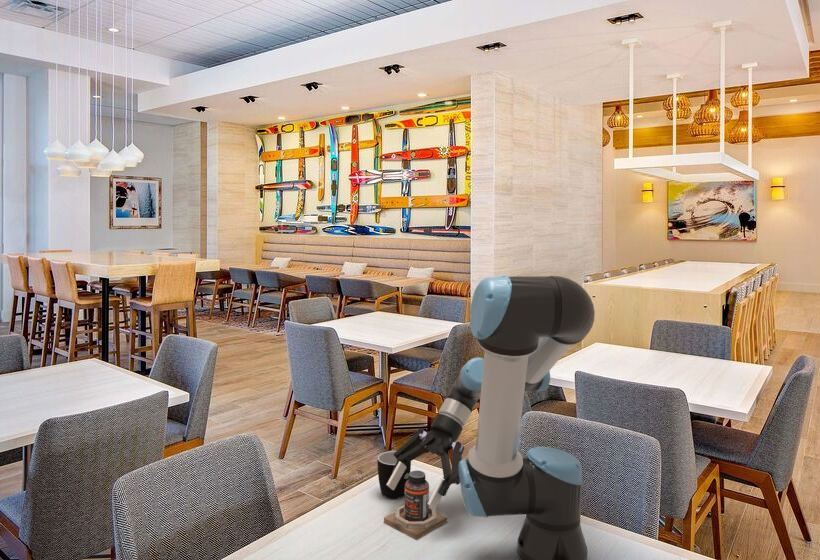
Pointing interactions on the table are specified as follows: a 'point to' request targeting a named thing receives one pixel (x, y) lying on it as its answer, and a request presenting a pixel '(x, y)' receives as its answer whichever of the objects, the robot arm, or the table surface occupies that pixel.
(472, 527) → the table surface
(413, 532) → the socket board
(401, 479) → the mug
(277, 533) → the table surface
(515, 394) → the robot arm
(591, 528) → the table surface
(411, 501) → the supplement bottle
